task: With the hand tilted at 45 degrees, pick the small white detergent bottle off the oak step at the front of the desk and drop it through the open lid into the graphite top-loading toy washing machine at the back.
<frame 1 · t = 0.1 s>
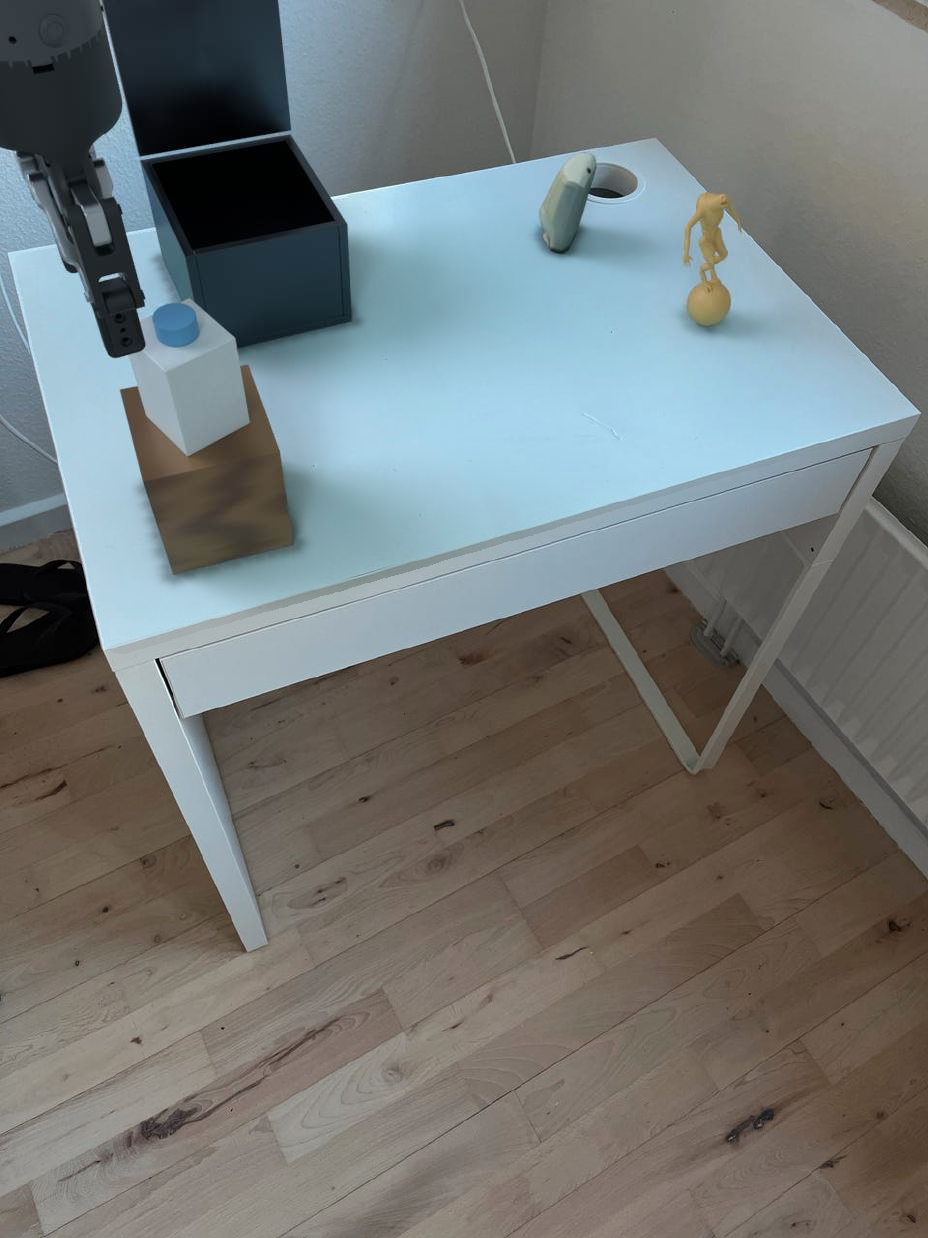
hand: (104, 308, 56), 19 cm above the table, tool pointing down, fingers open, 8 cm apart
grey-green elongated block: (562, 242, 95), on the table
white bottle: (198, 419, 64), point 10 cm above the table, touching step
step: (220, 515, 72), on the table
washer lid: (194, 37, 77), point 18 cm above the table, hinge at 92.0°
figurine: (693, 317, 89), on the table
washer: (255, 289, 87), on the table
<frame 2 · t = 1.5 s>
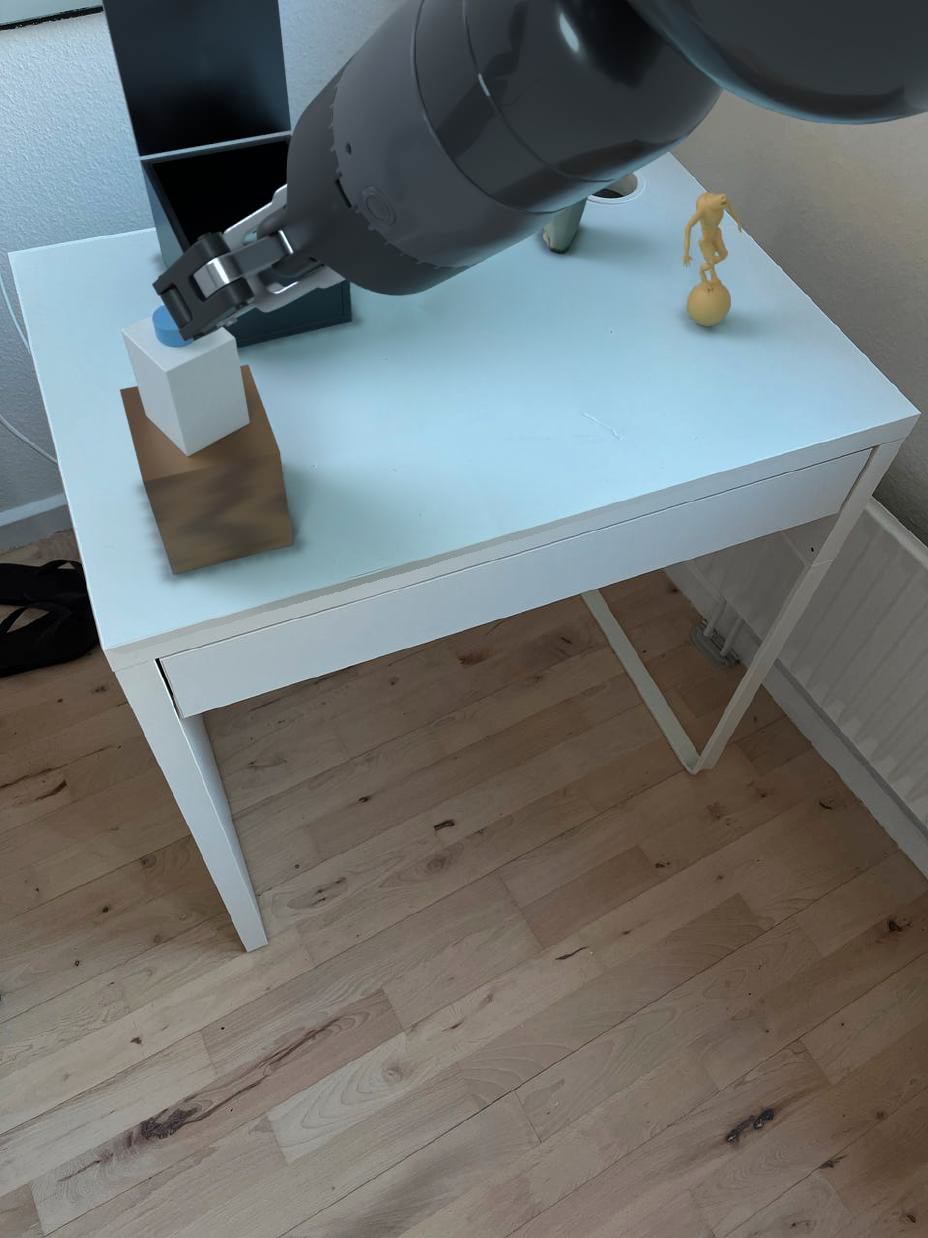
hand: (271, 276, 45), 28 cm above the table, tool tilted 45°, fingers open, 8 cm apart
nothing on the table moved.
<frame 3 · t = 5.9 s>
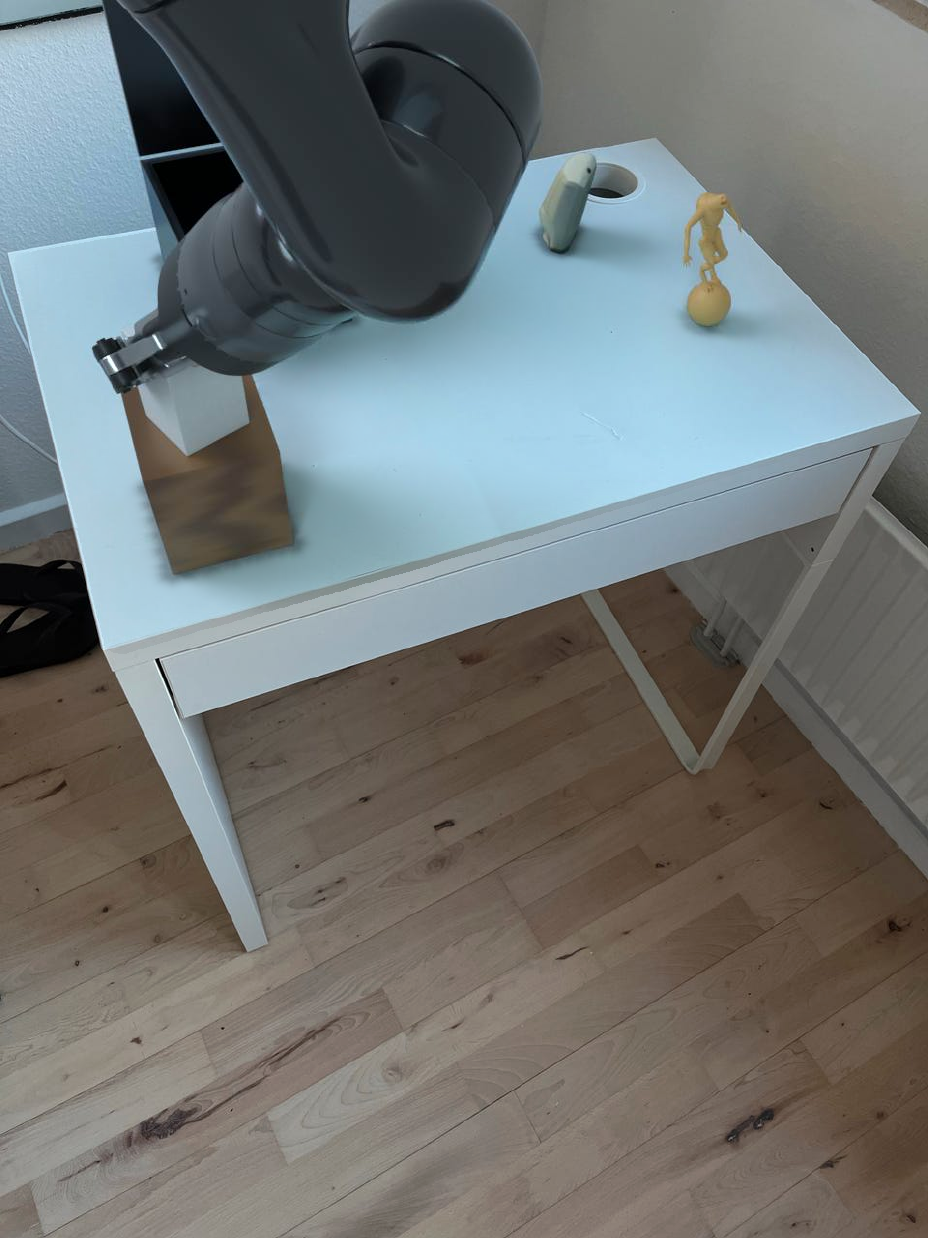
hand: (168, 350, 61), 15 cm above the table, tool tilted 45°, fingers closed on white bottle, 5 cm apart
white bottle: (198, 419, 64), point 10 cm above the table, touching gripper, step
everything else where it was.
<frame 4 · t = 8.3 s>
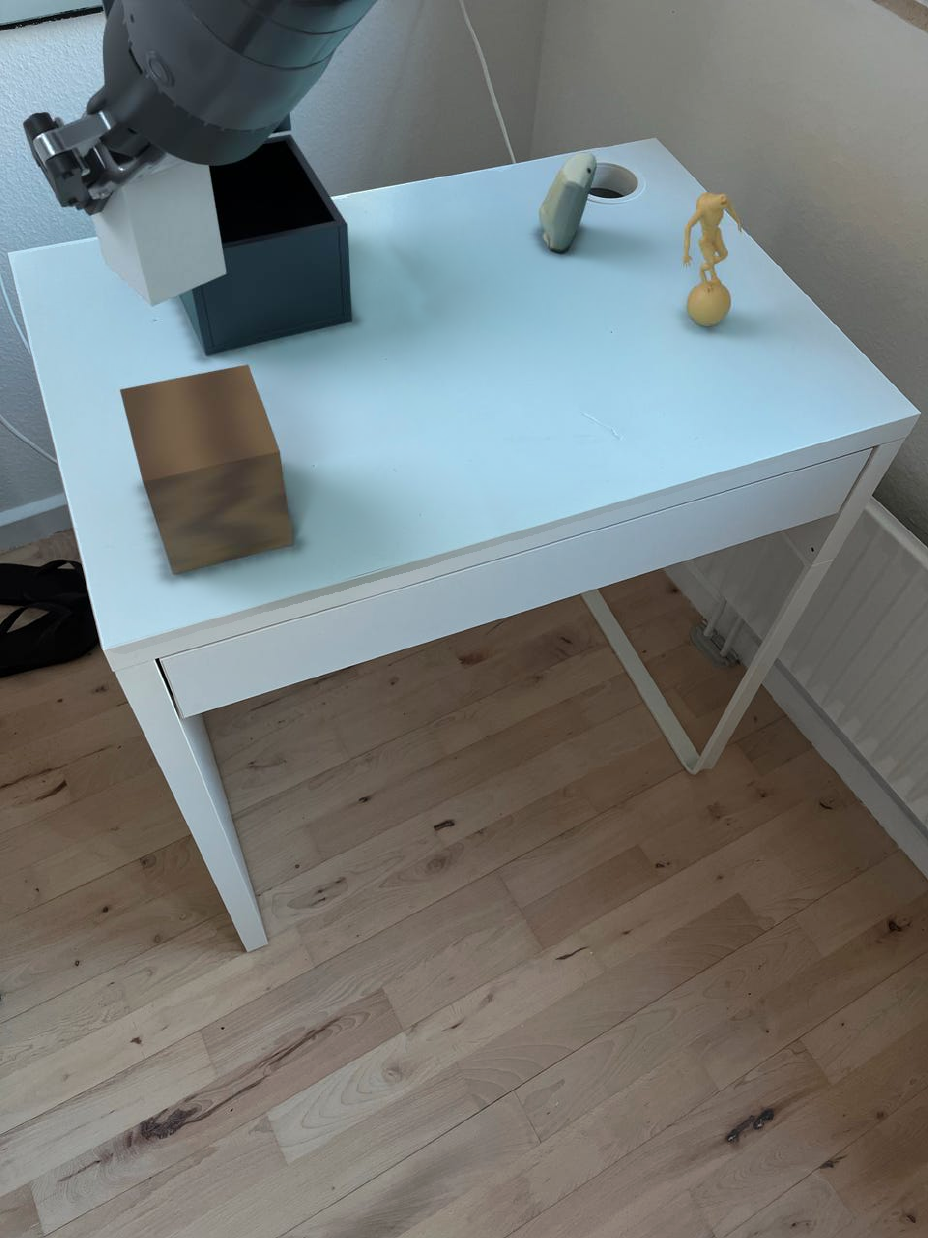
hand: (129, 177, 51), 26 cm above the table, tool tilted 45°, fingers closed on white bottle, 5 cm apart
white bottle: (166, 268, 54), point 22 cm above the table, touching gripper
everything else where it was.
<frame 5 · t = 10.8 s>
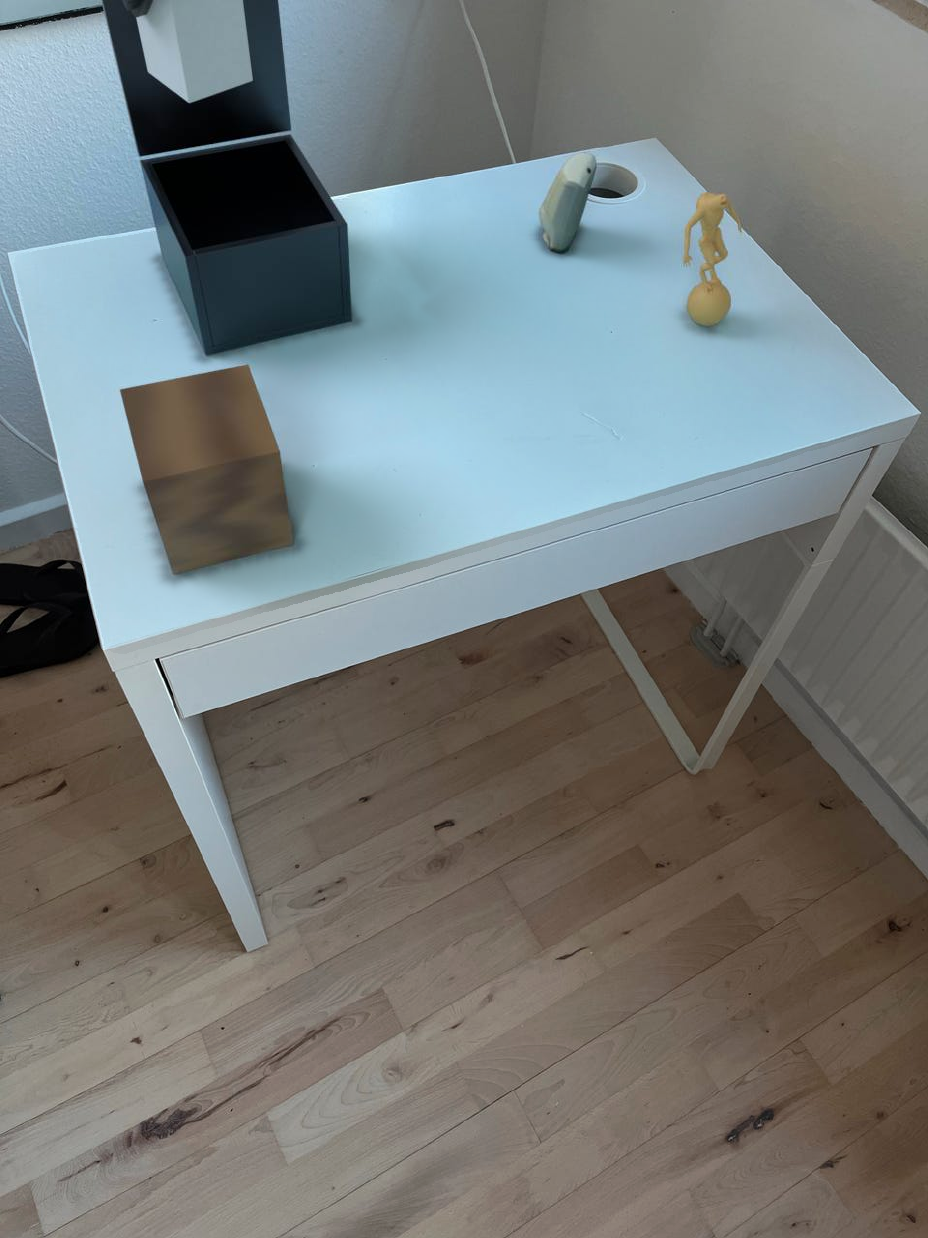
white bottle: (200, 76, 63), point 24 cm above the table, touching gripper
everything else where it was.
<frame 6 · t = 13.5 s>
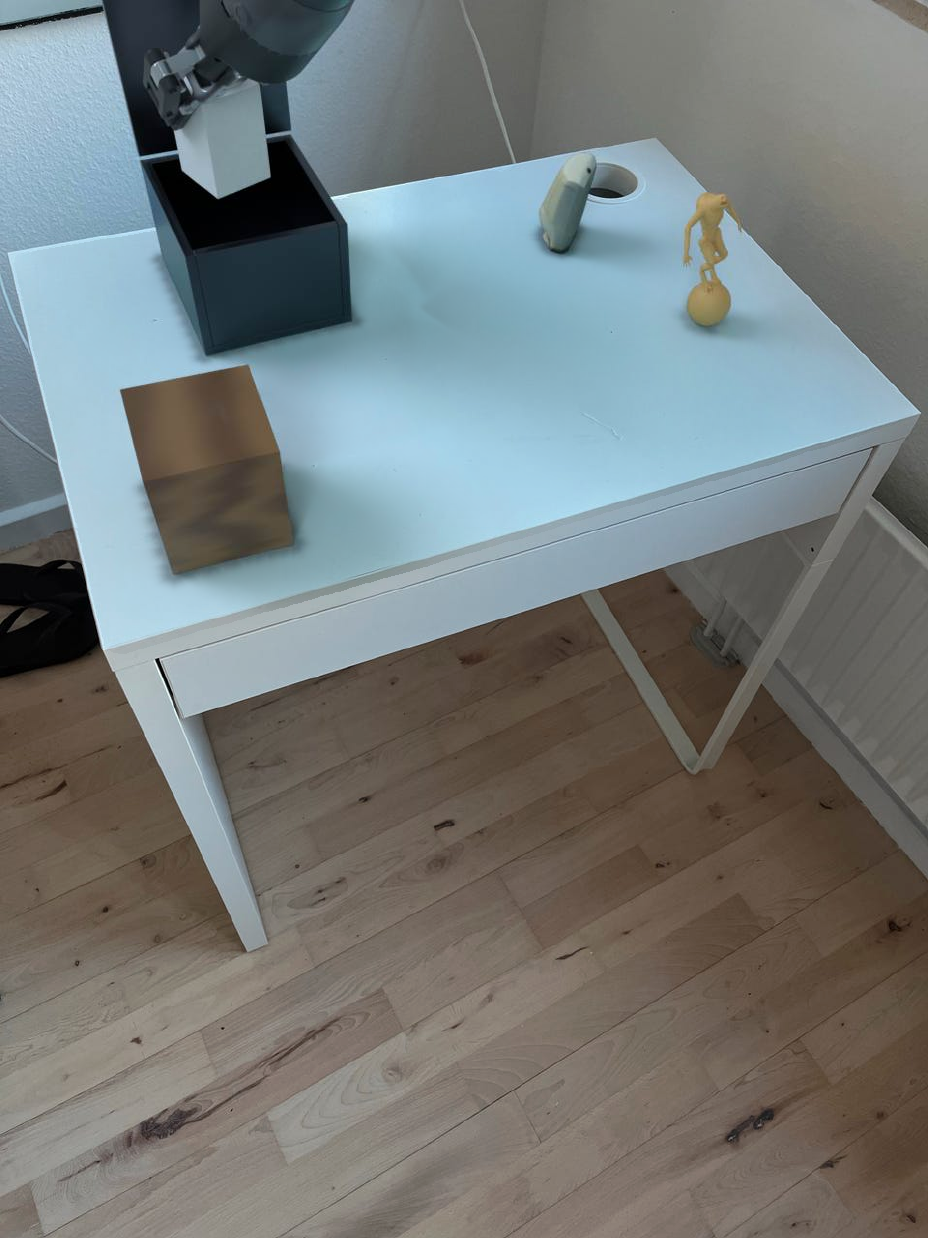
hand: (202, 104, 71), 18 cm above the table, tool tilted 45°, fingers closed on white bottle, 5 cm apart
white bottle: (226, 173, 74), point 13 cm above the table, touching gripper
everything else where it was.
when the fingers open (12 cm above the table, at t = 15.6 s): white bottle drops 7 cm, resting on washer.
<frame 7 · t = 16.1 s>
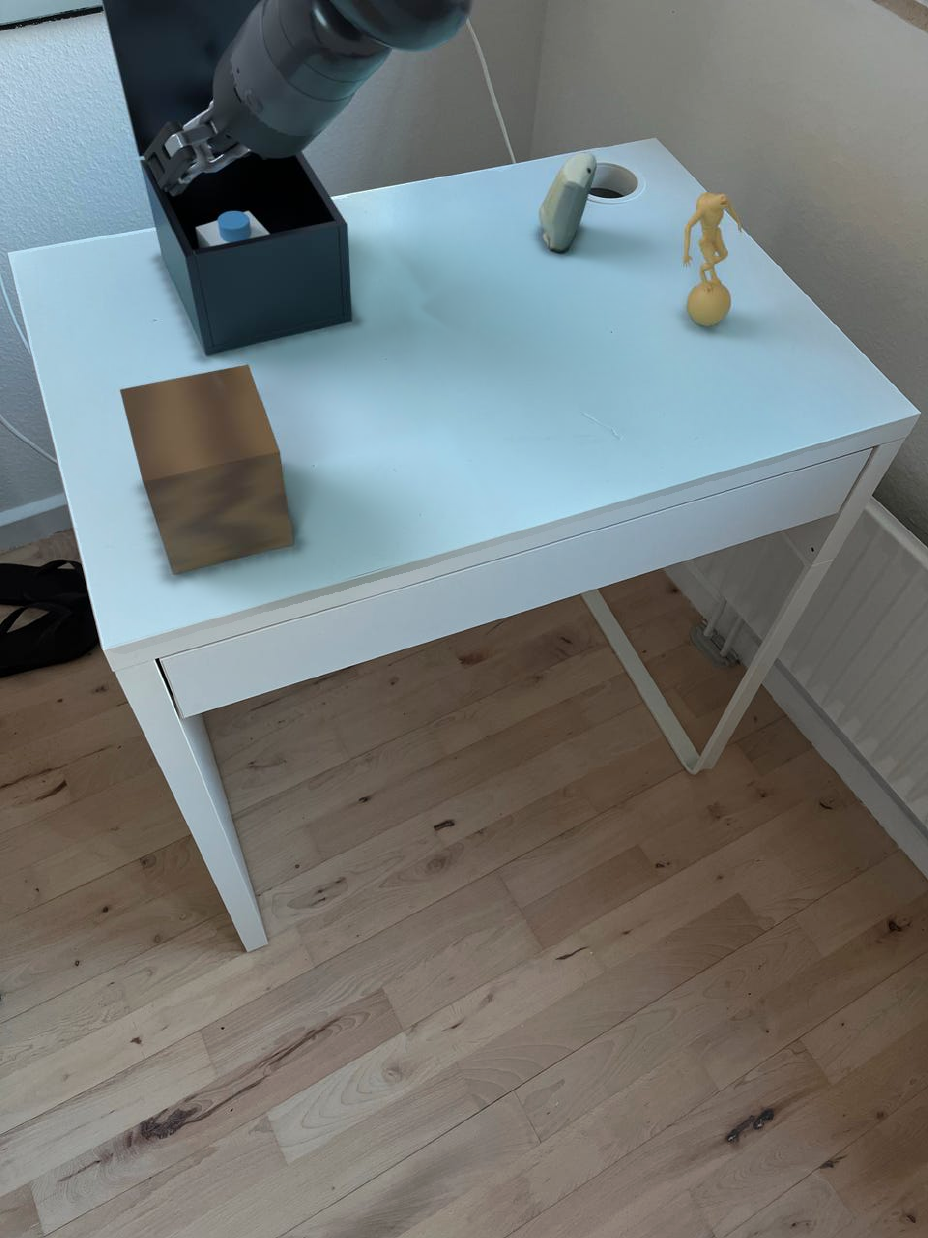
hand: (215, 164, 75), 14 cm above the table, tool tilted 45°, fingers open, 8 cm apart
white bottle: (246, 305, 85), point 1 cm above the table, touching washer
everything else where it was.
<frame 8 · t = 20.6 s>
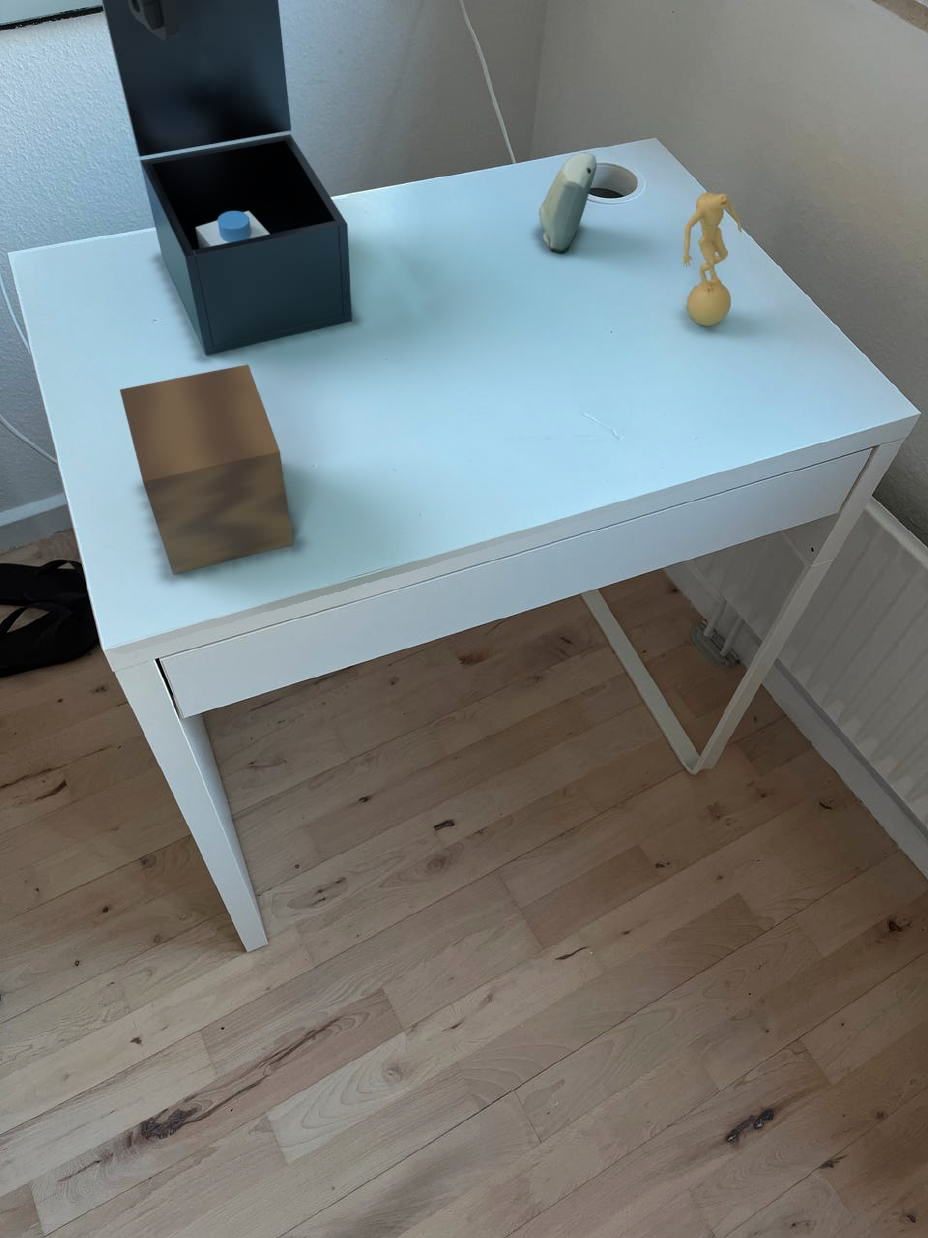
hand: (236, 9, 46), 34 cm above the table, tool pointing down, fingers open, 8 cm apart
nothing on the table moved.
at the end: white bottle inside the target area in the washer (3.3 cm from its centre), point 0.8 cm above the washer's base; the gripper is holding nothing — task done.
